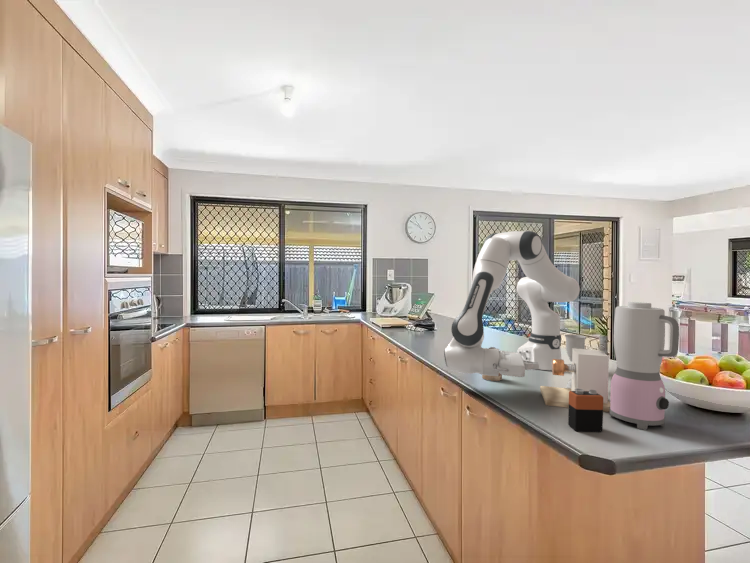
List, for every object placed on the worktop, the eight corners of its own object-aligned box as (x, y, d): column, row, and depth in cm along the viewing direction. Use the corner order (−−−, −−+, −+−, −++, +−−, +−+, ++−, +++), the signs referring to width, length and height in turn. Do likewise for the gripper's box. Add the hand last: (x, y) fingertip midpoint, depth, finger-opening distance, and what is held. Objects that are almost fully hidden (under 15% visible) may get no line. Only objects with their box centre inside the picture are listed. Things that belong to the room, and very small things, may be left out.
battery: (567, 425, 100) (568, 387, 100) (593, 425, 100) (594, 387, 100) (575, 432, 96) (576, 392, 96) (603, 432, 96) (604, 392, 95)
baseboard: (545, 405, 115) (545, 400, 115) (540, 390, 131) (540, 385, 131) (614, 412, 110) (614, 407, 110) (600, 396, 125) (600, 391, 125)
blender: (598, 416, 107) (601, 301, 106) (627, 410, 112) (630, 300, 111) (660, 438, 92) (663, 306, 92) (689, 431, 97) (693, 305, 97)
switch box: (577, 400, 115) (578, 354, 115) (571, 391, 125) (572, 348, 125) (607, 403, 113) (608, 356, 113) (599, 393, 123) (600, 350, 122)
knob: (553, 376, 120) (554, 360, 120) (551, 372, 124) (552, 357, 124) (587, 379, 117) (587, 363, 117) (583, 375, 122) (584, 359, 121)
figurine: (501, 377, 147) (501, 345, 147) (502, 382, 140) (503, 349, 140) (481, 375, 149) (482, 344, 148) (482, 380, 142) (482, 348, 142)
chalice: (588, 391, 130) (589, 338, 130) (566, 389, 132) (567, 337, 131) (581, 385, 138) (582, 335, 137) (560, 383, 139) (562, 334, 139)
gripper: (493, 359, 118) (542, 363, 113) (494, 347, 137) (535, 350, 133) (492, 379, 118) (541, 384, 114) (493, 364, 137) (535, 368, 133)
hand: (538, 365), depth 123 cm, fingers closed
